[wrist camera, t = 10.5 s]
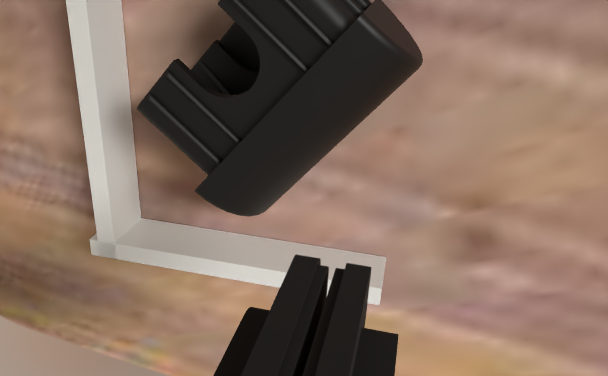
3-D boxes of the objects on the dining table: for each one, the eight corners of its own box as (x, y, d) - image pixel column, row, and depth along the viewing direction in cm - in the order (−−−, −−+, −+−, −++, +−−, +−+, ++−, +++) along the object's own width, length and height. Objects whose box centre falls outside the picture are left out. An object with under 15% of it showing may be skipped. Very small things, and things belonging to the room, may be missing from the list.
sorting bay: (81, -110, 25) (39, -116, 22) (434, -94, 22) (433, -99, 19) (119, 228, 33) (91, 254, 30) (384, 272, 30) (379, 305, 27)
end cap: (285, 179, 29) (246, 242, 23) (186, 85, 28) (118, 125, 22) (427, 44, 25) (424, 78, 19) (315, -73, 24) (275, -77, 18)
